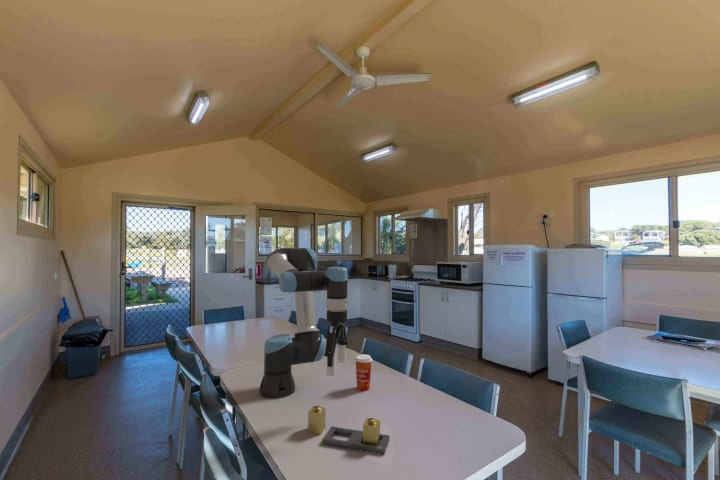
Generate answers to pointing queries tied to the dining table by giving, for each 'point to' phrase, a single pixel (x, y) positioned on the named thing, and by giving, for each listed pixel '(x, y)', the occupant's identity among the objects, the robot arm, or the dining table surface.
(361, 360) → the paper cup
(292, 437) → the dining table surface
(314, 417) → the yellow square bottle
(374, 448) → the holder with square slots
